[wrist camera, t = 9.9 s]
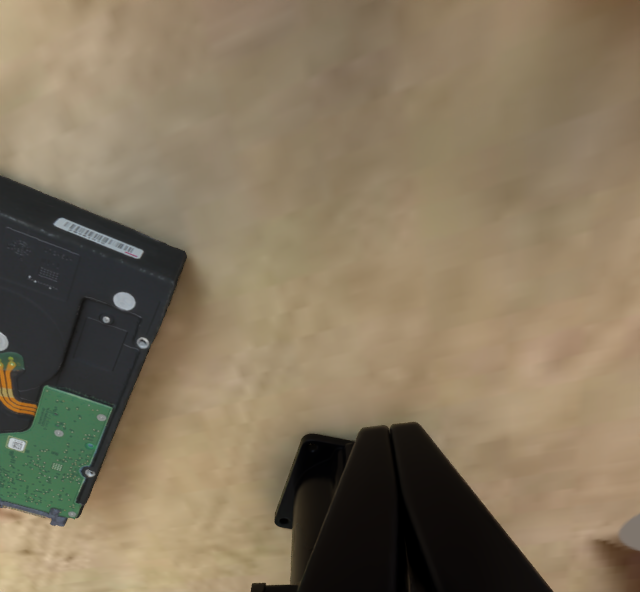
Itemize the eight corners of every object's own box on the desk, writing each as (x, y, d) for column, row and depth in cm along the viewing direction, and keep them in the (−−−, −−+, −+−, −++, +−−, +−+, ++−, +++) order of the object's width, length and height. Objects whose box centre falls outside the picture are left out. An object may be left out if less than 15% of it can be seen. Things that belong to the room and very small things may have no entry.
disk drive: (-105, 124, 19) (-131, 423, 26) (-166, 148, 16) (-177, 472, 23) (193, 243, 21) (96, 487, 28) (178, 280, 19) (76, 537, 26)
